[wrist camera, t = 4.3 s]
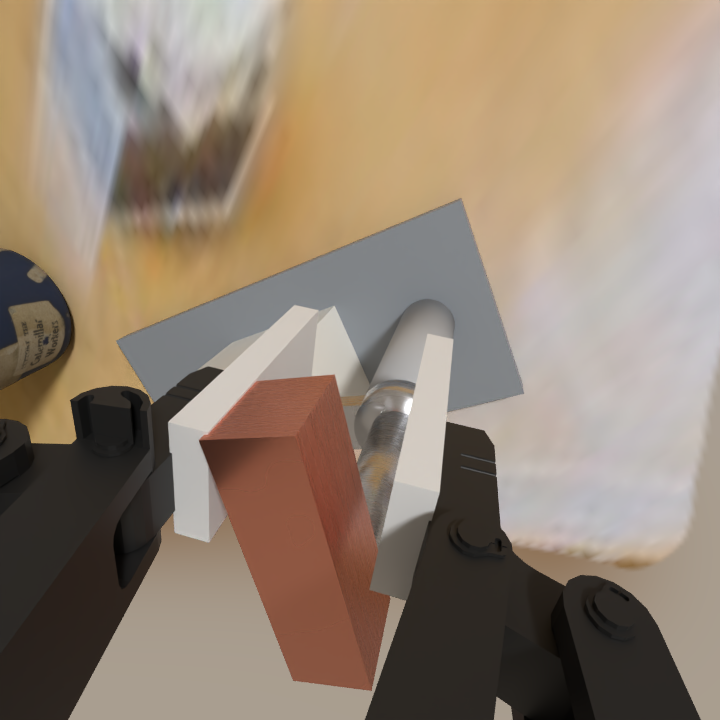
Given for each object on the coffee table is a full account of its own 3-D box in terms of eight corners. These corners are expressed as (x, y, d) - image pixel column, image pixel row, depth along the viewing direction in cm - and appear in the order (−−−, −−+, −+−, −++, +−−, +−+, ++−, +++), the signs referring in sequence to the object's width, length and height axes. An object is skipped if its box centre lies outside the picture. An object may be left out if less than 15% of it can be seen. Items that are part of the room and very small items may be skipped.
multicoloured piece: (252, 453, 21) (88, 674, 12) (200, 304, 18) (-56, 451, 10) (445, 447, 19) (410, 721, 10) (418, 272, 16) (336, 434, 7)
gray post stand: (205, 462, 38) (107, 574, 28) (127, 334, 35) (-17, 412, 25) (522, 384, 29) (543, 512, 19) (461, 198, 25) (446, 234, 15)
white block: (271, 415, 33) (195, 513, 24) (232, 342, 31) (134, 419, 23) (371, 388, 30) (325, 488, 22) (334, 305, 28) (267, 378, 20)
